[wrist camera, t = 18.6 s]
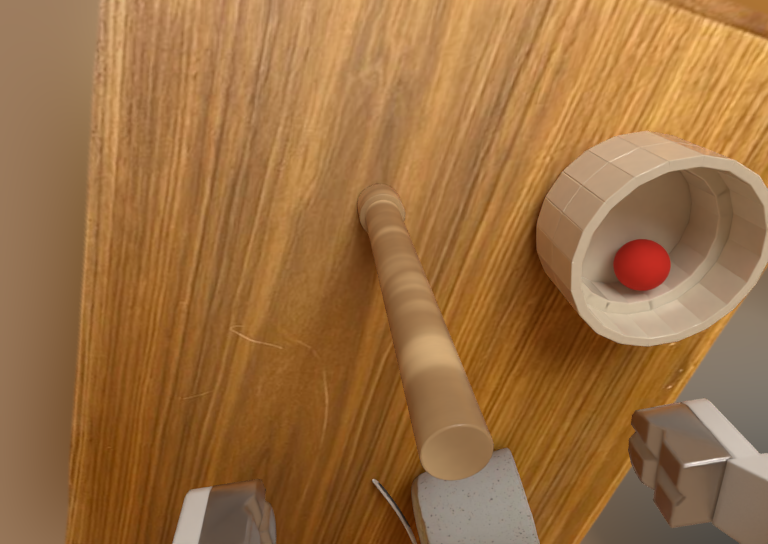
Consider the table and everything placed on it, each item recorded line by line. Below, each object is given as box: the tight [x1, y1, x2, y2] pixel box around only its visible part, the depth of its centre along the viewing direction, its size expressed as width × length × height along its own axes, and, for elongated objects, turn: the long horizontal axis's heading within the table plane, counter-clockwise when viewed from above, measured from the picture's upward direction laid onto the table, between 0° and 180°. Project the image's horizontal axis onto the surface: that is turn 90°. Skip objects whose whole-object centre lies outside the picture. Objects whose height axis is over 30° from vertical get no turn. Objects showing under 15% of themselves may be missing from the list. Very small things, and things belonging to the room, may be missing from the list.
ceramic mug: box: [411, 448, 539, 544], centre depth 40 cm, size 11×8×8 cm
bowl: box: [536, 131, 768, 346], centre depth 31 cm, size 11×11×6 cm
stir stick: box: [357, 184, 494, 481], centre depth 23 cm, size 3×3×20 cm
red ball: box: [613, 239, 671, 291], centre depth 33 cm, size 3×3×3 cm
